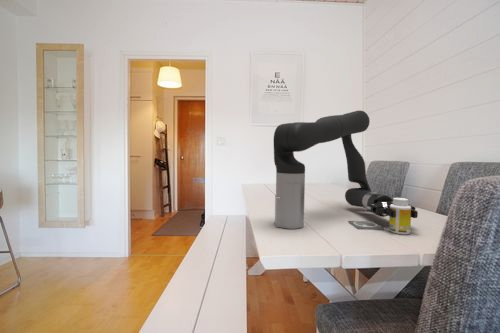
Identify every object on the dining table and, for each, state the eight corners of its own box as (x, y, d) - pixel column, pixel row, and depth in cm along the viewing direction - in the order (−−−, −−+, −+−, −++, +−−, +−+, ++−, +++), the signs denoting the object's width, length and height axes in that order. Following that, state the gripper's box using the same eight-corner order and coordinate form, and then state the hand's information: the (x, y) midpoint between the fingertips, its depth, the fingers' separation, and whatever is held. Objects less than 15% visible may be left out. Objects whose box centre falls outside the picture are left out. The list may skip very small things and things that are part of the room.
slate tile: (357, 229, 79) (357, 226, 79) (348, 222, 87) (348, 220, 87) (383, 229, 79) (383, 227, 79) (371, 222, 87) (371, 220, 87)
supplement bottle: (413, 232, 76) (414, 199, 75) (406, 236, 72) (407, 201, 72) (393, 228, 80) (394, 196, 80) (385, 231, 77) (386, 198, 76)
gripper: (357, 192, 90) (380, 201, 73) (397, 193, 90) (430, 202, 73) (356, 213, 90) (379, 226, 74) (397, 214, 90) (429, 227, 73)
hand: (405, 214), depth 73 cm, fingers closed on supplement bottle, 5 cm apart
